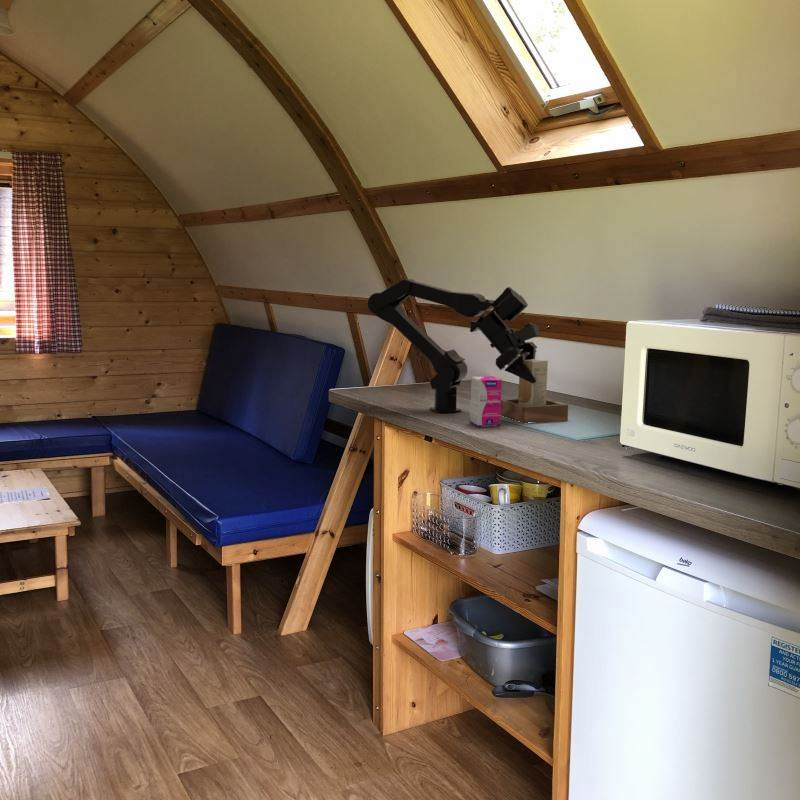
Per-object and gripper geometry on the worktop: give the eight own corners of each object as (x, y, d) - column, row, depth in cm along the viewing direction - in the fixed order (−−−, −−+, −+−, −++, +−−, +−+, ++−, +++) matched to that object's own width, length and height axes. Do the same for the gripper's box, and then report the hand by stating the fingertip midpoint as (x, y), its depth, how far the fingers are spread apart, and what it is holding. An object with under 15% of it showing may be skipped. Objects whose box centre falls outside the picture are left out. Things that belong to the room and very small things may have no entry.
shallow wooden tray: (498, 415, 226) (499, 400, 225) (540, 412, 231) (540, 397, 230) (524, 423, 214) (525, 407, 214) (567, 420, 219) (568, 404, 219)
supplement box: (477, 427, 209) (479, 379, 207) (469, 423, 214) (470, 376, 213) (500, 426, 210) (502, 379, 208) (491, 422, 216) (493, 375, 214)
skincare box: (532, 406, 226) (535, 358, 224) (546, 408, 223) (549, 360, 221) (516, 408, 221) (519, 359, 220) (530, 410, 218) (532, 360, 217)
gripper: (510, 314, 211) (553, 363, 209) (531, 310, 228) (571, 355, 226) (477, 344, 216) (519, 393, 213) (500, 339, 233) (539, 384, 230)
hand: (538, 380), depth 221 cm, fingers closed on skincare box, 7 cm apart
